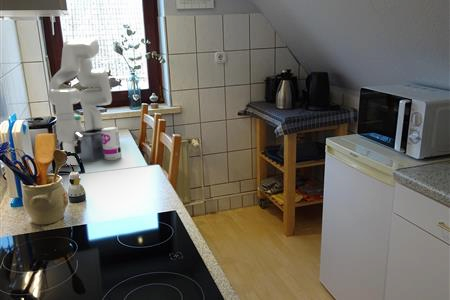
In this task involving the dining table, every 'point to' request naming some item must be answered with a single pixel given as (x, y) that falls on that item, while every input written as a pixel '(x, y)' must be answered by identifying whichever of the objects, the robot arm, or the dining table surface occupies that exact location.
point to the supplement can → (111, 143)
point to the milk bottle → (79, 123)
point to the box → (91, 145)
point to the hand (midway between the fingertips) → (71, 153)
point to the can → (70, 148)
